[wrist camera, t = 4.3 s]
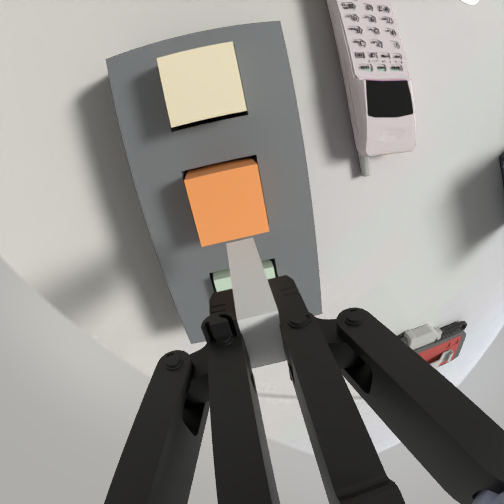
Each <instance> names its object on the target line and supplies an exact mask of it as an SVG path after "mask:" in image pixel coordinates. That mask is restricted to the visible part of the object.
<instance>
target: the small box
mask: <svg viewBox="0 0 504 504" xmlns="http://www.w3.org/2000/svg"><path fill="white" fill-rule="evenodd" d="M500 163H501V169H502V177H503V185H504V153H503V154H502V155H501V156H500Z"/></svg>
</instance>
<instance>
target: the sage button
mask: <svg viewBox="0 0 504 504" xmlns="http://www.w3.org/2000/svg"><path fill="white" fill-rule="evenodd" d="M261 262H262V265H263V268H264V271H265V274H266V277H267V279H271V278H275V272H274V267H273V264H272V262H271V260H270V259H269V260H264V261H261ZM213 279H214V284H215V287H216V290H217V292H219V291H223V290H228V289H232V283H231V276H230V269H225V270H221V271H216V272H213Z"/></svg>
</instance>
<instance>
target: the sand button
mask: <svg viewBox="0 0 504 504" xmlns="http://www.w3.org/2000/svg"><path fill="white" fill-rule="evenodd" d="M157 63H158V68H159V73H160V78H161V83H162V88H163V92H164V97H165V102H166V106H167V111H168V115H169V120H170V124H171V128H172V127H176V126H181V125H185V124H189V123H193V122H197V121H201V120H205V119H210V118H214V117H219V116H224V115H229V114H234V113H239V112H243V111H247V108H246V103H245V98H244V93H243V88H242V84H241V79H240V74H239V69H238V64H237V59H236V55H235V50H234V45H233V41H232V42H226V43H220V44H215V45H210V46H205V47H200V48H195V49H191V50H186V51H182V52H178V53H174V54H170V55H167V56H163V57H159V58H157Z"/></svg>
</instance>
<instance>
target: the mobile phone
mask: <svg viewBox="0 0 504 504" xmlns="http://www.w3.org/2000/svg"><path fill="white" fill-rule="evenodd" d="M326 1H327V6H328V10H329V14H330V18H331V22H332V27H333V31H334V36H335V40H336V45H337V50H338V55H339V59H340V64H341V69H342V74H343V79H344V84H345V89H346V95H347V100H348V106H349V113H350V118H351V123H352V128H353V134H354V139H355V145H356V149H357V151H358V156H359V162H360V168H361V174H362V176H370V175H371V164H370V156H378V155H385V154H393V153H402V152H410V151H413V149H414V148H415V146H416V124H415V108H414V98H413V90H412V83H411V79H410V77H409V72H408V66H407V62H406V57H405V52H404V49H403V45H402V41H401V37H400V33H399V30H398V26H397V23H396V20H395V16H394V13H393V10H392V7H391V4H390V1H389V0H326Z"/></svg>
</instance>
